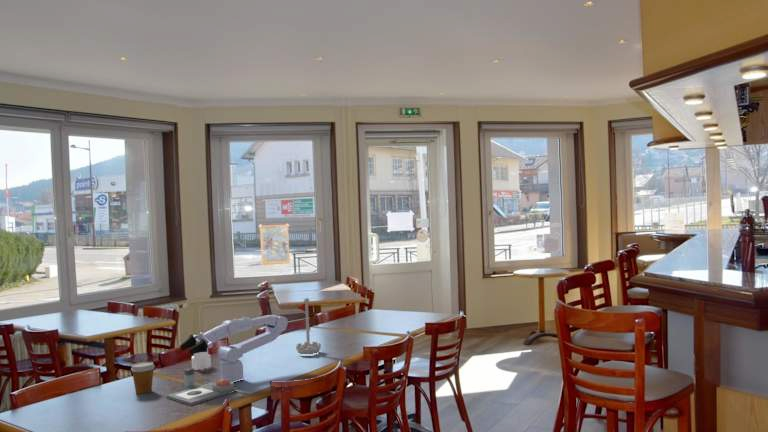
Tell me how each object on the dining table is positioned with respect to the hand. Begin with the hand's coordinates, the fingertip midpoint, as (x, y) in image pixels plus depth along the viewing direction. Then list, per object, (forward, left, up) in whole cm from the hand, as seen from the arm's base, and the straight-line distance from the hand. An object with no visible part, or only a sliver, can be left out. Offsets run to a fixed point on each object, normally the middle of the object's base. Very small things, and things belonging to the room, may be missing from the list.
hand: (184, 350), depth 250 cm
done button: (-9, +13, -16) cm, 23 cm away
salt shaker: (-5, -6, -18) cm, 20 cm away
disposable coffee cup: (+10, -18, -18) cm, 27 cm away
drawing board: (-2, +8, -18) cm, 20 cm away
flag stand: (-75, -5, -18) cm, 78 cm away
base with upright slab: (-27, -31, -18) cm, 45 cm away
